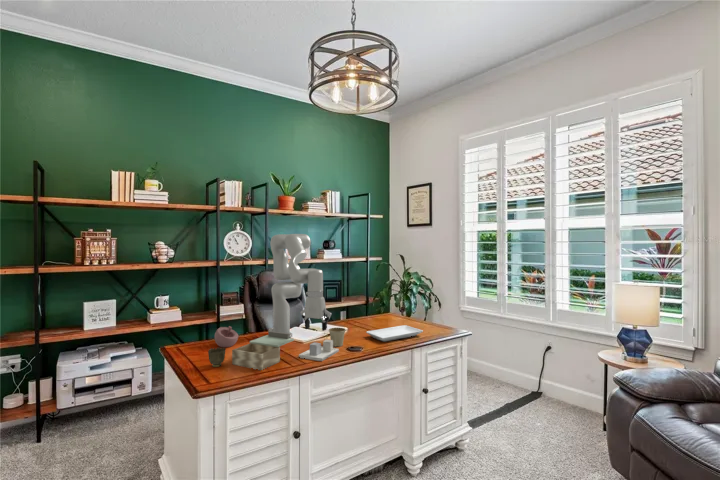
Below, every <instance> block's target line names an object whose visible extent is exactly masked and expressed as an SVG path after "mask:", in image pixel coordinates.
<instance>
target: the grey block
mask: <svg viewBox="0 0 720 480" xmlns="http://www.w3.org/2000/svg"><path fill="white" fill-rule="evenodd" d="M321 346H322V343H319V342H315V341H314V342H312V343H309V349H310V355H316V356H317V355H319V354H321Z"/></svg>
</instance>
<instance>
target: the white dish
mask: <svg viewBox="0 0 720 480" xmlns="http://www.w3.org/2000/svg"><path fill="white" fill-rule="evenodd" d="M339 352H340V348H337V347H336V348H335V347H333V350H332V351H331V352H323V345H321V354H319V355H317V356H316V355H310V348H309V349H308V350H305V351H304V352H301V353H299V354H298V358H299V357H300V359H304V358H305V359H306V360H310V361H318V362H323V361H326V359H329V358H330V357H332V356H334V355H335V354H337V353H339Z"/></svg>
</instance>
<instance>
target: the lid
mask: <svg viewBox="0 0 720 480" xmlns="http://www.w3.org/2000/svg"><path fill="white" fill-rule="evenodd" d="M293 341H295V338H291V337H290V334H289V333H282V332H274V331H269V332H268V334H267V335H263V336H260V337H258V338H254V339H252V340H249V343H248V344H250V343H253V344H260V345H266V346H273V347H280V348H281V347H282V346H284V345H286V344H289V343H291V342H293Z"/></svg>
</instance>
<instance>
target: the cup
mask: <svg viewBox="0 0 720 480" xmlns="http://www.w3.org/2000/svg"><path fill="white" fill-rule="evenodd" d="M226 351H227V350H226V347H220V346H218V347H216V348H215V347H214V348H210V349H208V350H207V355H208V361H209V362H210V364H211V366H212V367H213V368H219V367H221V366H222V364H223V363H224V361H225V357H226Z"/></svg>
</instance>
